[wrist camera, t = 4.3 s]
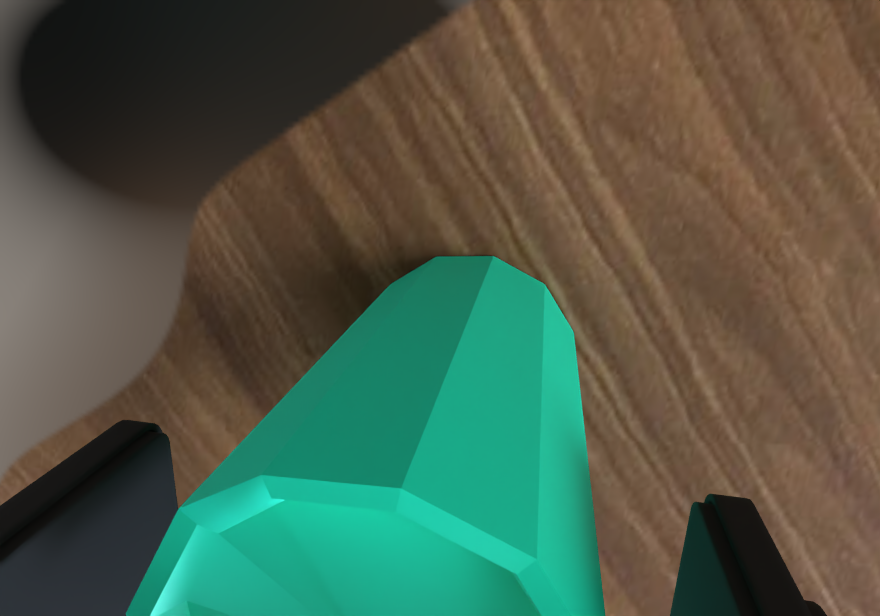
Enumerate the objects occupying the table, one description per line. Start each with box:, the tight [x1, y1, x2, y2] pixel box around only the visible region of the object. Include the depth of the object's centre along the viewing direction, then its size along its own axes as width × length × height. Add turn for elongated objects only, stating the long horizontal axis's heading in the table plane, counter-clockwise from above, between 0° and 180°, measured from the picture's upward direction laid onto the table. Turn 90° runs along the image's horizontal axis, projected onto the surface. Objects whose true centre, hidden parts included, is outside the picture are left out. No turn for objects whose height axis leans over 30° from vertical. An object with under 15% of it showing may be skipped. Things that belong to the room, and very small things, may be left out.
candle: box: [126, 256, 605, 616], centre depth 11 cm, size 6×6×12 cm
